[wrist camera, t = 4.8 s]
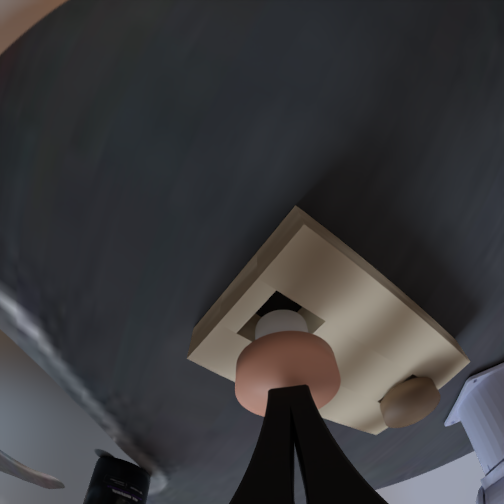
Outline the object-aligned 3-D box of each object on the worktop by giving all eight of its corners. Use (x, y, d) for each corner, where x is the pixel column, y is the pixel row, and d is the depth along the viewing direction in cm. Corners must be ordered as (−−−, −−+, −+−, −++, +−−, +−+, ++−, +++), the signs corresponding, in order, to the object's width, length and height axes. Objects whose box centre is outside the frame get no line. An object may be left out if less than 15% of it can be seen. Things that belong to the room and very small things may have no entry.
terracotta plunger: (323, 288, 13) (343, 344, 10) (324, 353, 15) (338, 410, 12) (230, 300, 13) (224, 360, 10) (245, 364, 15) (244, 422, 12)
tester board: (455, 339, 18) (470, 361, 16) (369, 410, 22) (376, 434, 19) (295, 205, 14) (304, 224, 12) (193, 328, 17) (187, 358, 15)
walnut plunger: (426, 346, 18) (447, 383, 15) (415, 382, 20) (431, 418, 17) (373, 359, 18) (390, 400, 15) (367, 395, 20) (380, 433, 17)
